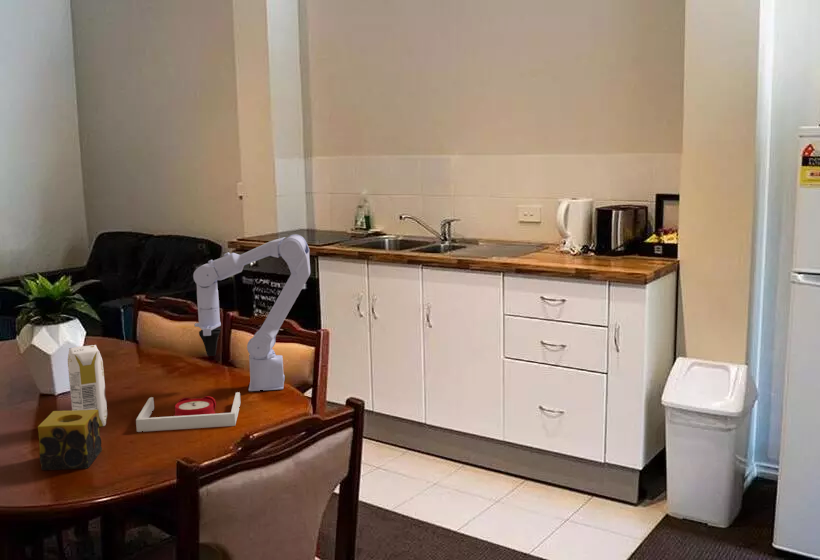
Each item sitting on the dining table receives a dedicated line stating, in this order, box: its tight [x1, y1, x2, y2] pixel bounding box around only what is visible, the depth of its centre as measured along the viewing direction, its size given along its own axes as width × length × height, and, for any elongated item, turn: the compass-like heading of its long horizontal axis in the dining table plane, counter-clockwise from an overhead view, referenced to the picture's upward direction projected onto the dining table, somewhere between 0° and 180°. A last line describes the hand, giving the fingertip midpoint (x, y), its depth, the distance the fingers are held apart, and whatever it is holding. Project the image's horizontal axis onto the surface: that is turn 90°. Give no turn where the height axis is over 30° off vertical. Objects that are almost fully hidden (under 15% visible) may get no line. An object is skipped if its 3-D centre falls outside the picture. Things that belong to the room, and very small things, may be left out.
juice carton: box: [67, 344, 108, 427], centre depth 196 cm, size 8×9×19 cm
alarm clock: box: [174, 395, 217, 416], centre depth 201 cm, size 10×6×15 cm
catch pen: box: [135, 391, 241, 433], centre depth 201 cm, size 23×18×3 cm
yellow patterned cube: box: [37, 409, 103, 471], centre depth 173 cm, size 10×10×10 cm
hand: (211, 355), depth 224 cm, fingers closed
